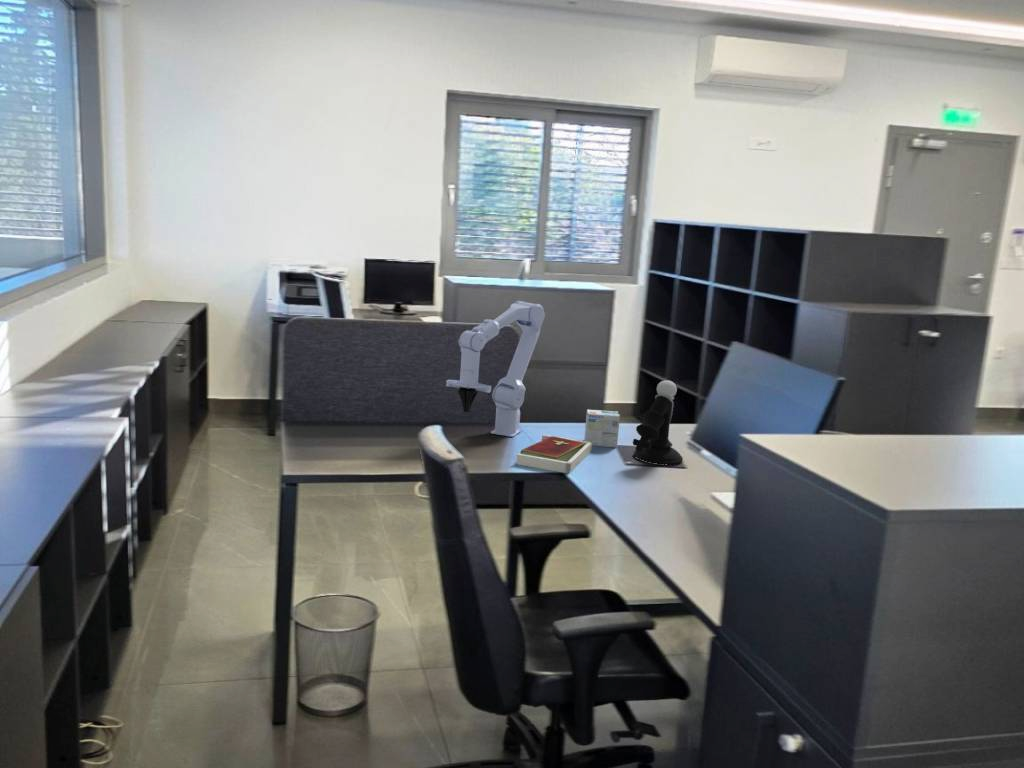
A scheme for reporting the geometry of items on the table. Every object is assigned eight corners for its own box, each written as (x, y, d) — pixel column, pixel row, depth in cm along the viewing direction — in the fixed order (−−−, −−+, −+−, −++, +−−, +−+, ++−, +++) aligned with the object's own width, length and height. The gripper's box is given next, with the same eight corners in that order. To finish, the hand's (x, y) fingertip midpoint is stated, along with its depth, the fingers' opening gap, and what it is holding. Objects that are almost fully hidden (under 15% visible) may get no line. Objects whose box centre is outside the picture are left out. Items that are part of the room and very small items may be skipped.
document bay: (542, 443, 276) (543, 434, 276) (591, 451, 271) (592, 442, 271) (516, 464, 252) (516, 454, 251) (569, 473, 247) (570, 463, 246)
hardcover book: (519, 462, 256) (520, 448, 255) (550, 447, 274) (551, 434, 273) (555, 470, 250) (557, 456, 250) (584, 454, 269) (585, 442, 268)
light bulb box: (615, 442, 284) (618, 411, 282) (617, 448, 278) (620, 415, 276) (583, 440, 285) (586, 408, 282) (584, 445, 278) (587, 413, 276)
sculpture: (689, 458, 272) (699, 382, 267) (659, 475, 252) (669, 392, 247) (645, 448, 280) (653, 373, 275) (613, 463, 260) (621, 383, 255)
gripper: (443, 368, 267) (440, 410, 269) (486, 374, 262) (483, 417, 265) (452, 364, 273) (449, 406, 276) (494, 371, 269) (491, 413, 271)
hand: (466, 411), depth 271 cm, fingers closed
